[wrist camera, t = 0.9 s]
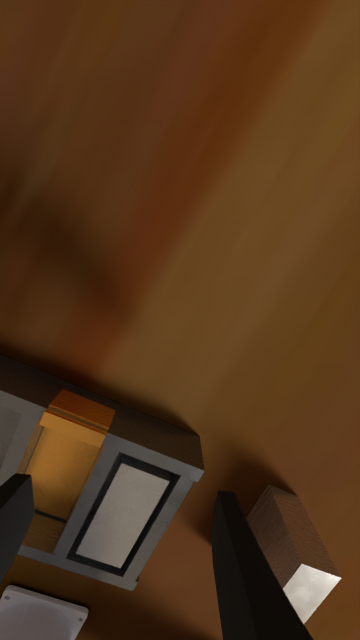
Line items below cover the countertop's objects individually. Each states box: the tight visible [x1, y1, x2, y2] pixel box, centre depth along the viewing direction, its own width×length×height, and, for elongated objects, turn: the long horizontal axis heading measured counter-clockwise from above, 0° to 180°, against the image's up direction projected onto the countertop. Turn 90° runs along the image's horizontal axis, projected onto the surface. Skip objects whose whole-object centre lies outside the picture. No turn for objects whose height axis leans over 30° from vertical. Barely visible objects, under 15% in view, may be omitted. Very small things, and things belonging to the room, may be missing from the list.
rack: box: [0, 354, 204, 591], centre depth 19 cm, size 12×18×4 cm
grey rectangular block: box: [246, 485, 341, 624], centre depth 20 cm, size 8×3×6 cm, turn 154°
